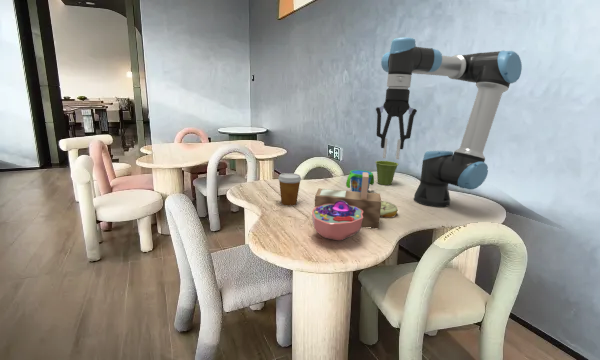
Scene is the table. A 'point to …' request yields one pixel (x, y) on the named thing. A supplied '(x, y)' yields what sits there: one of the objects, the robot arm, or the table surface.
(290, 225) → the table surface
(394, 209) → the decorated donut
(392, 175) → the plant pot
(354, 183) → the snack cup
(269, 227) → the table surface
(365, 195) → the tile
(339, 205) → the cell model
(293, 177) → the disposable coffee cup
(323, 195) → the block
